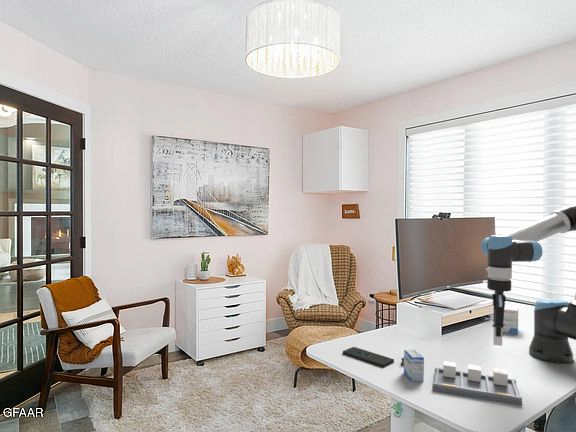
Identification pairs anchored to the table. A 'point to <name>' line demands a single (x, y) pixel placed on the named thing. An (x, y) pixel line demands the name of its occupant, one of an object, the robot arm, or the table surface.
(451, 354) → the table surface
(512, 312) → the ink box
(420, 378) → the medicine box
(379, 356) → the smart home device
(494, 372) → the white cube
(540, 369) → the table surface
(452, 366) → the white cube
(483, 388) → the gray divided tray
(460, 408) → the table surface
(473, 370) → the white cube
